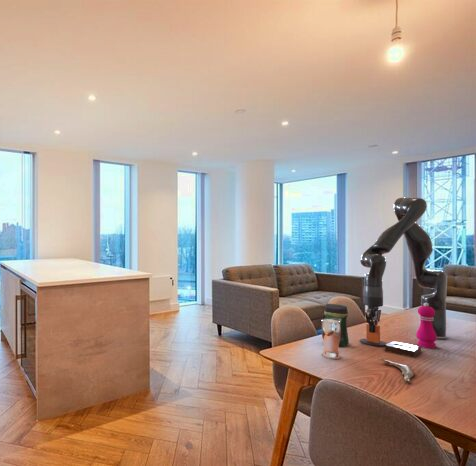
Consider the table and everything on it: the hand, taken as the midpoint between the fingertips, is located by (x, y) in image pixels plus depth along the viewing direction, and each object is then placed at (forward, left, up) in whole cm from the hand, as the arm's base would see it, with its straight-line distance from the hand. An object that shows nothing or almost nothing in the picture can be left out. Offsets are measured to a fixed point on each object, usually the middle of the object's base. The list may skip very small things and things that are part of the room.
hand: (373, 331), depth 158 cm
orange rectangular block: (0, 0, -5) cm, 5 cm away
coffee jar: (+15, -10, -6) cm, 19 cm away
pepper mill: (-15, +16, -6) cm, 23 cm away
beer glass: (+35, -4, -6) cm, 36 cm away
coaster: (0, 0, -5) cm, 5 cm away
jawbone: (+34, +17, -6) cm, 38 cm away
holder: (+3, +12, -5) cm, 14 cm away
